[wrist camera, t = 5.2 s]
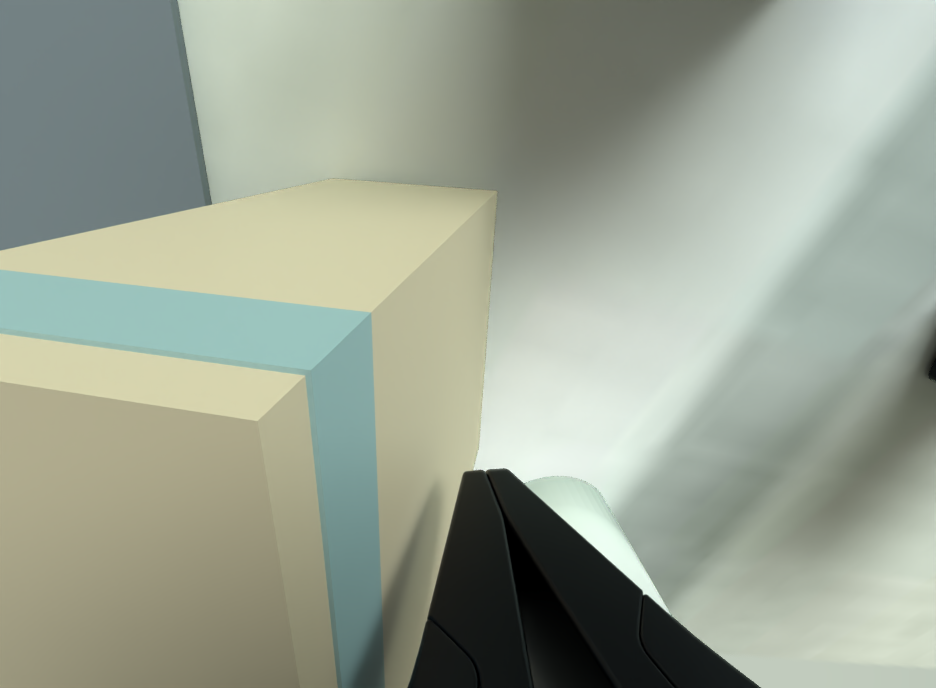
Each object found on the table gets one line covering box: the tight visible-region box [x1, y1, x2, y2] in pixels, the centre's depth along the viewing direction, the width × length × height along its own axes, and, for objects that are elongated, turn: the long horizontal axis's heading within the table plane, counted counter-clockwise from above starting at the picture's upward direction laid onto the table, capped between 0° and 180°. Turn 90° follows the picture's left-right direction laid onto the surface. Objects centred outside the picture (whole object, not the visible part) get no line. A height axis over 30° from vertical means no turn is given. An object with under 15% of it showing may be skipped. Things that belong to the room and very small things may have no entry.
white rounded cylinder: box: [524, 476, 672, 616], centre depth 19 cm, size 6×6×6 cm
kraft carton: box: [0, 178, 498, 688], centre depth 11 cm, size 5×9×12 cm, turn 176°
